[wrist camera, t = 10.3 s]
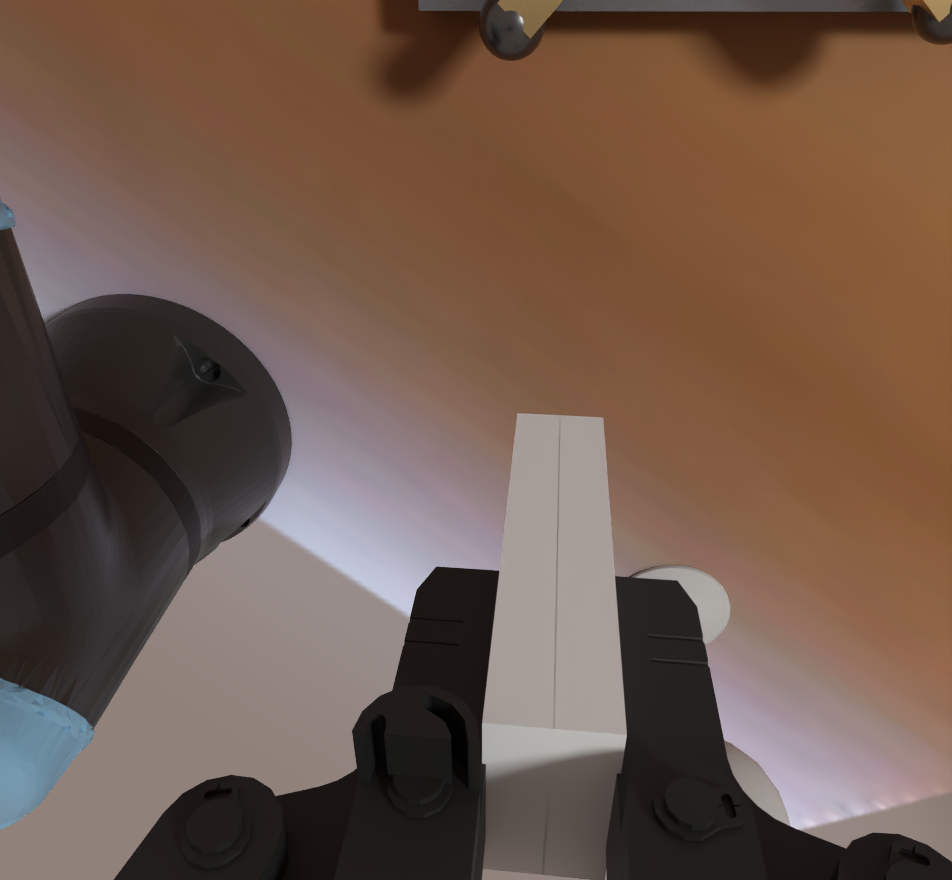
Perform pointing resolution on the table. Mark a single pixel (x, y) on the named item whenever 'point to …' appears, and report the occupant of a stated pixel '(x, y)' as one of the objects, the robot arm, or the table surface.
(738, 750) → the wineglass
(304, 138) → the table surface
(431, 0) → the stand
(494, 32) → the capstan
